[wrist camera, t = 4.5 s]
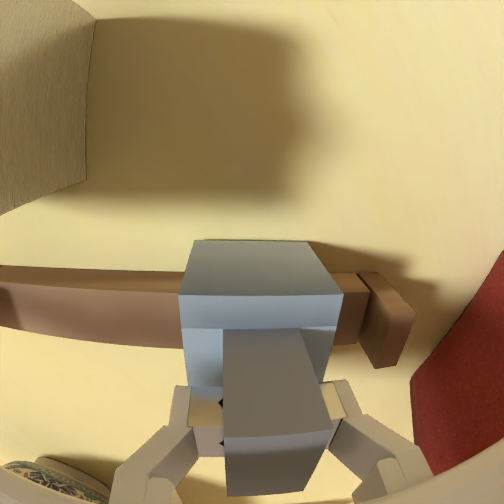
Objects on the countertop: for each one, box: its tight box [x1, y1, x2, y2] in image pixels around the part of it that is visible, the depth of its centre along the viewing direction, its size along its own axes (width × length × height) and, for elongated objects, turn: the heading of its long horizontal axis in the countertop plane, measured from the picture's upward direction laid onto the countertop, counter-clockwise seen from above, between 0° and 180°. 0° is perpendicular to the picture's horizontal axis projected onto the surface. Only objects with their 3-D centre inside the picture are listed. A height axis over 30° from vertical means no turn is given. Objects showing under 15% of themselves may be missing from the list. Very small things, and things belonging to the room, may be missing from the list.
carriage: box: [178, 240, 344, 496], centre depth 10 cm, size 6×5×9 cm
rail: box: [0, 265, 416, 369], centre depth 12 cm, size 3×23×4 cm, turn 88°
